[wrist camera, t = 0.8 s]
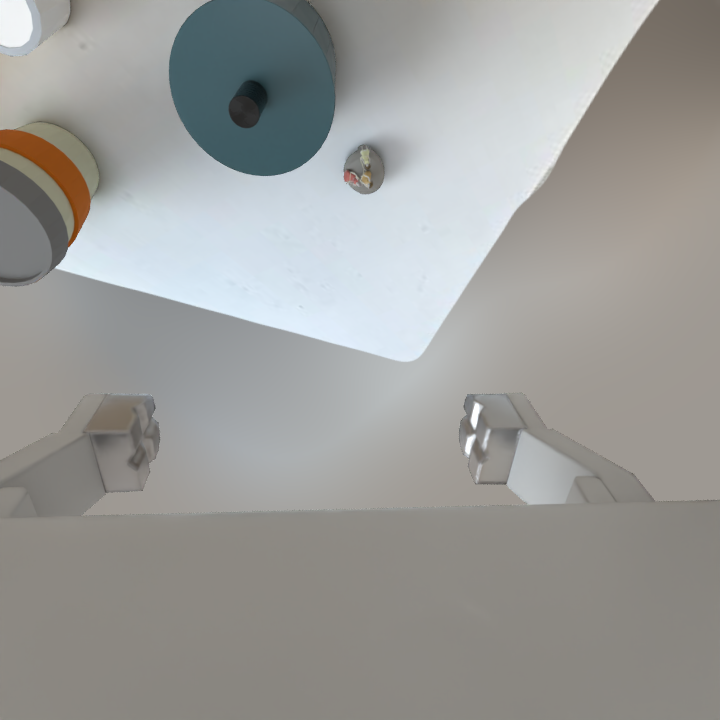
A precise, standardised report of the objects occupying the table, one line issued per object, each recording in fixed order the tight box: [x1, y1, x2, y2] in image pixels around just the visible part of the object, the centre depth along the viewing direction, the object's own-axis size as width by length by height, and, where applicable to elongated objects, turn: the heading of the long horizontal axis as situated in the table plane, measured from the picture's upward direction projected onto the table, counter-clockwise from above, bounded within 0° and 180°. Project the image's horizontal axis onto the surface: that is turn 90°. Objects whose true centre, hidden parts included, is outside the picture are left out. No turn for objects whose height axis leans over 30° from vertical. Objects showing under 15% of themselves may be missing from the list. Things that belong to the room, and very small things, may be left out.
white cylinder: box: [0, 0, 71, 57], centre depth 42 cm, size 7×7×7 cm
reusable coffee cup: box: [0, 122, 99, 286], centre depth 50 cm, size 13×13×15 cm
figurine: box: [344, 145, 384, 194], centre depth 53 cm, size 5×4×6 cm
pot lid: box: [169, 0, 335, 176], centre depth 40 cm, size 14×14×5 cm
